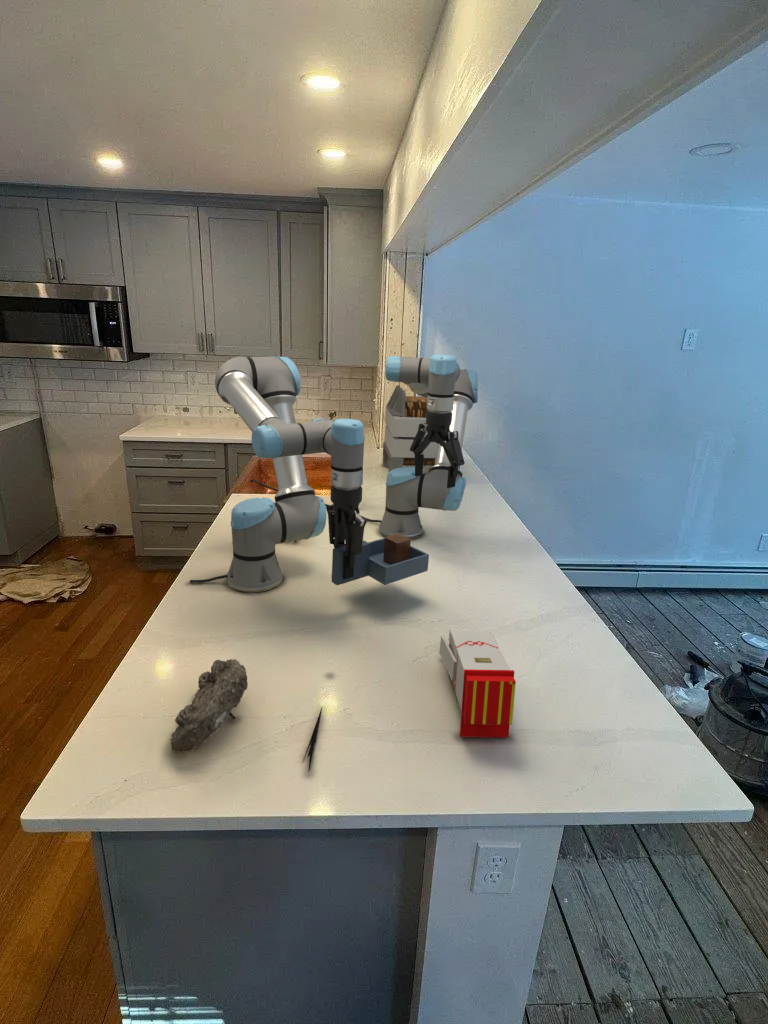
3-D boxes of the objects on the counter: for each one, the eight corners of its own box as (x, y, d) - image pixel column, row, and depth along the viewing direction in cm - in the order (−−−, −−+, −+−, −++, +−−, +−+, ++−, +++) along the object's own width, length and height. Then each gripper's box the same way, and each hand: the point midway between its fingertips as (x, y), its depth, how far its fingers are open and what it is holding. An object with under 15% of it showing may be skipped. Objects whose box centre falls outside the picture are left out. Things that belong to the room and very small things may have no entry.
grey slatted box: (381, 463, 289) (385, 382, 275) (444, 464, 292) (450, 384, 279) (389, 482, 257) (393, 392, 243) (459, 483, 261) (467, 394, 247)
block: (383, 561, 153) (384, 537, 151) (396, 557, 157) (398, 533, 154) (395, 567, 150) (397, 543, 148) (409, 563, 153) (411, 539, 151)
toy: (489, 613, 130) (525, 677, 101) (485, 667, 133) (518, 744, 104) (437, 612, 130) (457, 676, 101) (434, 666, 133) (453, 743, 103)
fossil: (195, 660, 117) (247, 628, 112) (227, 691, 120) (279, 661, 115) (146, 746, 98) (206, 711, 93) (185, 779, 101) (245, 748, 96)
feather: (331, 679, 122) (336, 673, 122) (307, 777, 96) (313, 769, 95) (324, 675, 122) (329, 669, 121) (298, 772, 95) (304, 764, 95)
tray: (316, 572, 146) (317, 540, 143) (390, 551, 162) (392, 522, 159) (353, 595, 135) (354, 561, 132) (427, 570, 151) (430, 539, 148)
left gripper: (314, 480, 137) (314, 568, 145) (354, 497, 126) (351, 591, 134) (339, 475, 142) (338, 560, 150) (379, 491, 131) (375, 582, 139)
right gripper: (400, 404, 169) (397, 472, 177) (463, 420, 152) (456, 494, 160) (418, 402, 174) (414, 469, 182) (481, 417, 157) (474, 489, 164)
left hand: (344, 575), depth 142 cm, fingers closed on tray, 2 cm apart
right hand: (434, 481), depth 171 cm, fingers open, 13 cm apart
